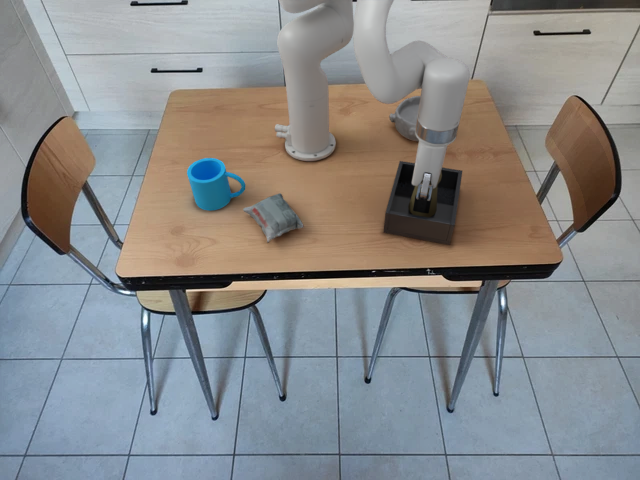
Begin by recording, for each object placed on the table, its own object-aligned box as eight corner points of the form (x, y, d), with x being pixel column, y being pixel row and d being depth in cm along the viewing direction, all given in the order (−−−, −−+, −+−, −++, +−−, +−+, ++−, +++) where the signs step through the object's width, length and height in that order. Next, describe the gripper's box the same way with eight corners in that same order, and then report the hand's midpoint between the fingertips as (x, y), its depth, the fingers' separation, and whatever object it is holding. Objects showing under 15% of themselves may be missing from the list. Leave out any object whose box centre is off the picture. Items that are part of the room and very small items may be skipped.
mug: (191, 210, 108) (182, 182, 102) (199, 185, 113) (191, 157, 107) (245, 211, 107) (239, 183, 101) (250, 186, 113) (245, 158, 106)
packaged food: (268, 250, 100) (266, 233, 96) (243, 215, 106) (240, 198, 103) (305, 233, 102) (304, 217, 99) (279, 200, 109) (277, 183, 106)
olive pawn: (436, 219, 103) (444, 180, 94) (407, 215, 104) (413, 176, 95) (437, 199, 106) (445, 160, 98) (409, 196, 107) (415, 157, 99)
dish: (430, 106, 132) (433, 90, 128) (458, 135, 123) (461, 118, 119) (381, 119, 128) (383, 102, 125) (406, 149, 120) (408, 132, 116)
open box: (383, 232, 102) (385, 212, 97) (397, 181, 112) (399, 160, 108) (449, 245, 99) (454, 225, 95) (457, 191, 110) (462, 170, 105)
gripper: (423, 98, 96) (412, 166, 109) (408, 153, 85) (399, 221, 98) (462, 104, 94) (446, 171, 107) (452, 160, 83) (437, 228, 96)
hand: (424, 195), depth 102 cm, fingers open, 9 cm apart
